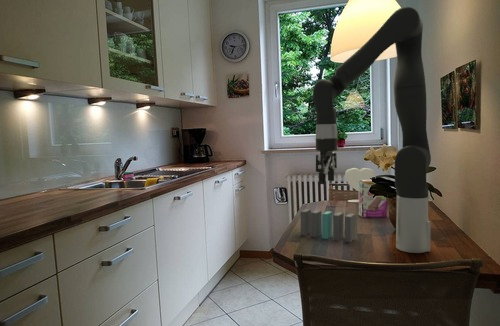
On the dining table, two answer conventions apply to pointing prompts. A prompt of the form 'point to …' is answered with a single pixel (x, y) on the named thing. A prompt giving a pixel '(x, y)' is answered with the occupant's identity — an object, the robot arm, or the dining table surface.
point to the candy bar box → (370, 202)
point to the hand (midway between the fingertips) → (326, 182)
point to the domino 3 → (327, 225)
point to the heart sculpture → (358, 178)
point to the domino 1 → (305, 222)
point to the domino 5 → (349, 228)
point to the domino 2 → (316, 223)
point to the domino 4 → (338, 226)
